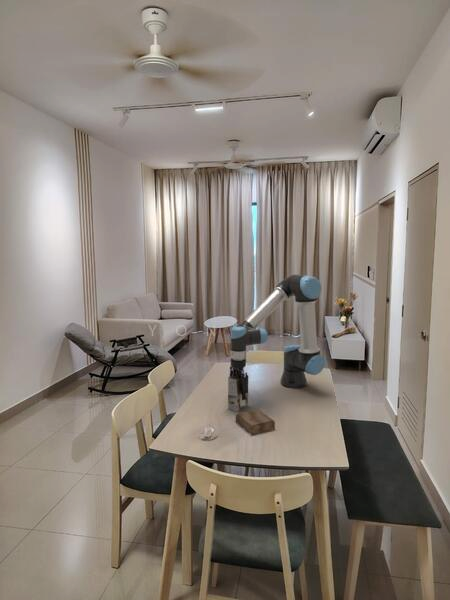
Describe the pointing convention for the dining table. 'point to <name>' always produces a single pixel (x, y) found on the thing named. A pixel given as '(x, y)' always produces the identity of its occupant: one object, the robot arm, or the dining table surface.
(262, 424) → the walnut base
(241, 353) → the robot arm
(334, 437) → the dining table surface
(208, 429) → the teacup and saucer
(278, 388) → the dining table surface
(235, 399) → the coffee box
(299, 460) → the dining table surface
